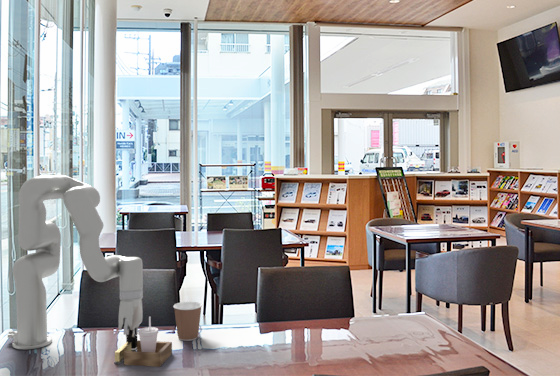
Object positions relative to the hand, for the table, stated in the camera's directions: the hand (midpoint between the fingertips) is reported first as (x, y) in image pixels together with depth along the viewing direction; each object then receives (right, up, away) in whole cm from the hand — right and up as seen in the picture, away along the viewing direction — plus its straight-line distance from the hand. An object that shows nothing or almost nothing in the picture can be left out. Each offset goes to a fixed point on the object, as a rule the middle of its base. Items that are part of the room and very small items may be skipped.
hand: (131, 347), depth 182 cm
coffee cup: (+17, -1, +14) cm, 22 cm away
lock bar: (-1, -1, -7) cm, 7 cm away
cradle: (+6, -1, -3) cm, 7 cm away
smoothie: (+8, -2, -8) cm, 11 cm away
